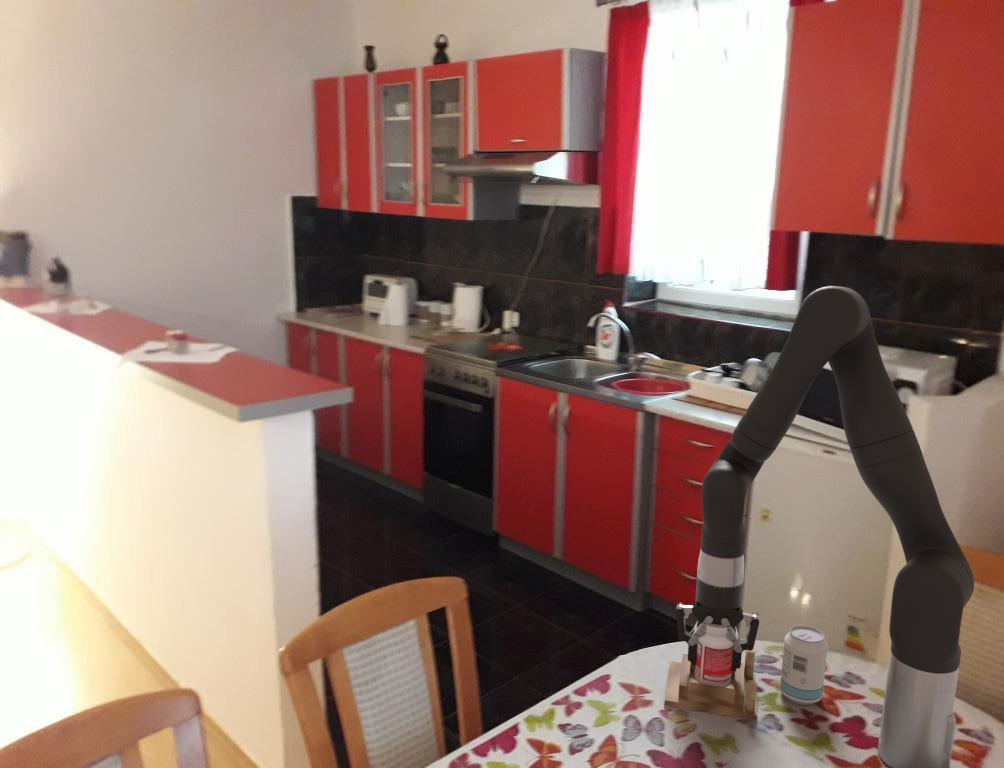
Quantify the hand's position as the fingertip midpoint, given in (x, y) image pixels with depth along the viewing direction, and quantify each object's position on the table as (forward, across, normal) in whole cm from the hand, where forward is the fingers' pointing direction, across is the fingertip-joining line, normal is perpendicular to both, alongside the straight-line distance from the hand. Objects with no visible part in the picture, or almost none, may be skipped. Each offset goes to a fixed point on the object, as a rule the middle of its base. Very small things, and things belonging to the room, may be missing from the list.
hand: (713, 665), depth 143 cm
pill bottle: (+3, 0, 0) cm, 3 cm away
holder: (+5, 0, 0) cm, 5 cm away
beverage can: (+5, -15, -3) cm, 16 cm away
